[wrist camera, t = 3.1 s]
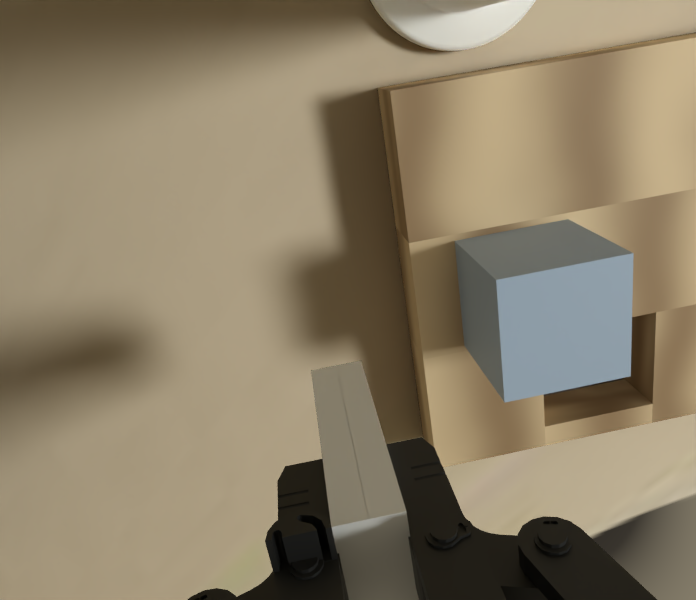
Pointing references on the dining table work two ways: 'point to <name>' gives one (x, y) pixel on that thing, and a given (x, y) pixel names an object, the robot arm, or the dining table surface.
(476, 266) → the block
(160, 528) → the dining table surface
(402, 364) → the dining table surface
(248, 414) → the dining table surface
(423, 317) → the board
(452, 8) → the candle
